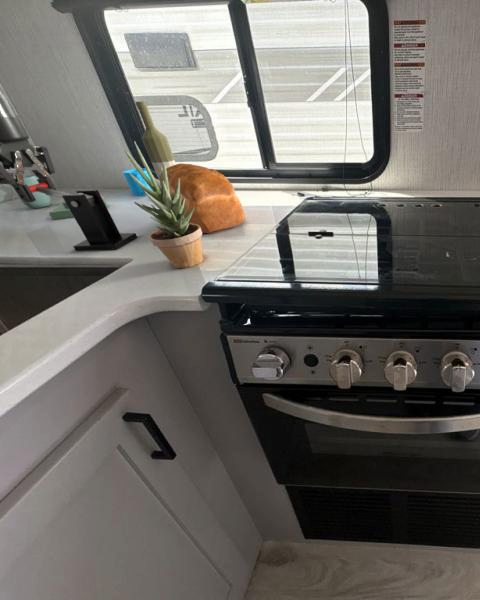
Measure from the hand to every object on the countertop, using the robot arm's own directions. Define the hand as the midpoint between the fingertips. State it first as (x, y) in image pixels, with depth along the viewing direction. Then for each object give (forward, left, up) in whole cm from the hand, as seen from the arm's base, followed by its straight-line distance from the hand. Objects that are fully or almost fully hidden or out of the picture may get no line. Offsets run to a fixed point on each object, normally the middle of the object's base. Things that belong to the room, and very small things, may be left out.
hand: (41, 197), depth 77 cm
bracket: (+9, -4, -12) cm, 15 cm away
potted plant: (+28, -27, -12) cm, 41 cm away
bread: (+32, +3, -12) cm, 34 cm away
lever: (+4, -2, -1) cm, 5 cm away
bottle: (+22, +38, -12) cm, 45 cm away
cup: (-20, +50, -12) cm, 55 cm away
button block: (-5, +34, -12) cm, 36 cm away
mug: (+11, +50, -12) cm, 53 cm away
